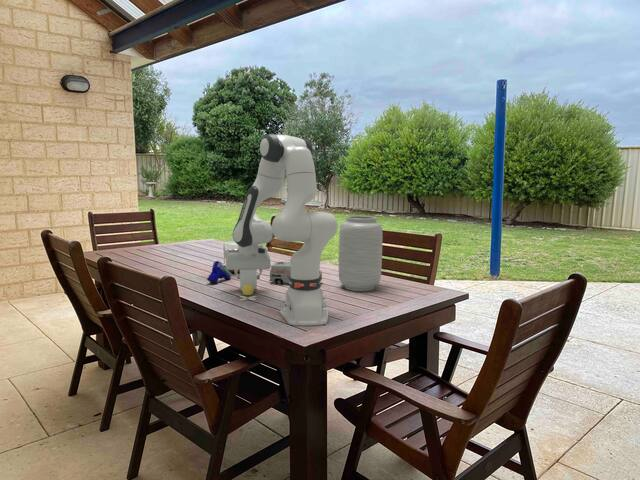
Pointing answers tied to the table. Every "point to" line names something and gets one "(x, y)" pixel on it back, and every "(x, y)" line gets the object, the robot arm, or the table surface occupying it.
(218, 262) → the toy gun
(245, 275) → the grey block
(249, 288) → the ball
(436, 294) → the table surface
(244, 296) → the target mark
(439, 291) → the table surface
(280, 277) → the toy car
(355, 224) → the vase
